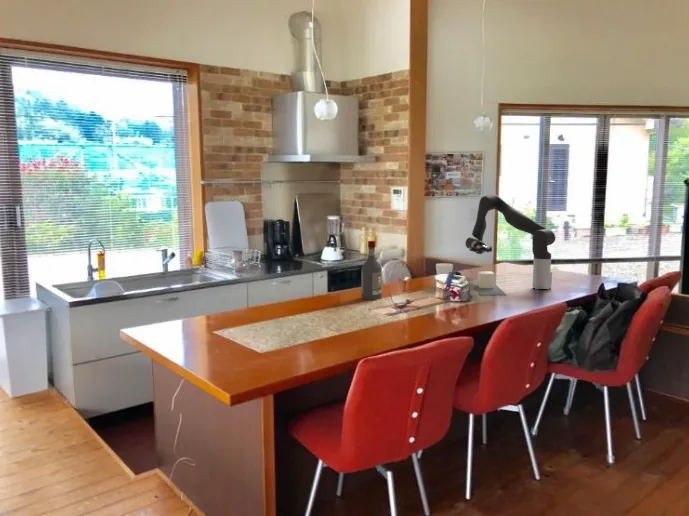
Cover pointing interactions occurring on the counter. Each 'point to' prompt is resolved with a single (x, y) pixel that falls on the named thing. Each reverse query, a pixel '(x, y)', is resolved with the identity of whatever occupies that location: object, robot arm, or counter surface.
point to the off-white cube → (485, 279)
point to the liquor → (371, 276)
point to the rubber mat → (489, 290)
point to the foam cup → (443, 268)
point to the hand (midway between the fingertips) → (483, 250)
